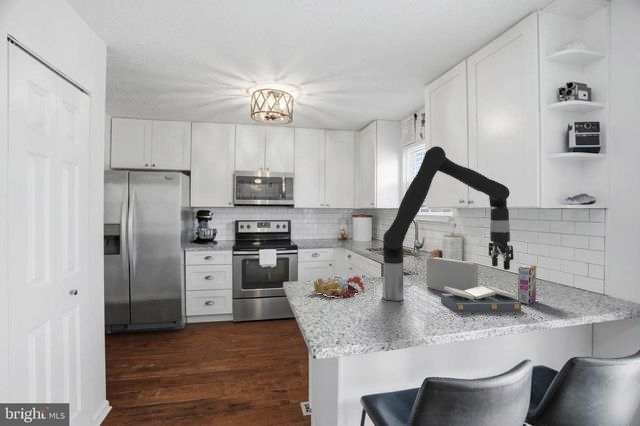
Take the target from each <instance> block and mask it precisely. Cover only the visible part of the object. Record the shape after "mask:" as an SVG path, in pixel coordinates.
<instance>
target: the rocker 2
mask: <svg viewBox="0 0 640 426" xmlns="http://www.w3.org/2000/svg"><path fill="white" fill-rule="evenodd" d="M464 292H466V293H468V294H470V295H472V296H474V298H475V299H480V298H484V297H487V296H491V295H494V294H496V293H495V291H493V290H491V289H488V288H486V287H485V286H483V285H480V286H479V285H478V287H475V288H471V289H467V290H464Z"/></svg>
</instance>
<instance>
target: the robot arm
mask: <svg viewBox="0 0 640 426" xmlns="http://www.w3.org/2000/svg"><path fill="white" fill-rule="evenodd" d="M437 172H440V173H443V174H445V175H446V176H449V177H451V178H453V179H456V180H458V181H460V183H462V184H464V185H466V186H468V187H470V188H471V189H473V190H475V191H477V192H481V193H483V194H485V195H487V196H488V198H489V199H488V200H489V206H490V223H489V234H490V237H489V238H490V239H489V240H490V242H488V256H489V257H491V267H498V266H499V263H498V262H499V261H498V257H499V255H500V257H502V259H503V270H505V271H508V270H510V268H511V267H510V266H511V261H513V260H515V259H514V247H513V245H512V244H511V245H510V244H509V245H508V243H510V241H511V225H510V216H509V215H510V214H509V212H510V211H509V208H508V206H507V205H508V201H507V199H508V198H509V196H510V194H511V192H510V189H509V188H508V187H507V186H506V185H504V184H502V183H500V182H498V181H496V180H493V179H490V178H488V177H487V176H485V175H484V174H482V173H480V172H478V171H476V170H474V169H471V168H469V167H466V166H462V165H460V164H458V163H455V162H453V161H452V160H451V159H449V158H448V157H446V152H445V149H443V148H442V146H439V145H438V146H432V147H430V148H428V149H427V150H426V152H425V154H424V156H423V159H422V161H421V164H420V167H419V168H418V171H417V172H416V175H415V176H414V178H413V179H412V181H411V183H410V184H409V186H408V187H407V189H406V192H405V194H404V196H403V198H402V200H401V201H400V205H399V206H398V210H397V214H396V216H395V219H394V220H393V221H392V223H391V225H390V226H389V228H388V229H387V230H386V231H384V233H383V237H382V239H383V241H382V242H383V243H382V244H383V246H382V247H383V250H382V253H383V256H382V257H383V276H382V298H383V299H384V300H385V301H392V302H395V301H396V302H398V301H403V300H404V246H403V245H404V241H405V239H406V235H407V234H408V230H409V229H410V226H411V224H412V222H413V221H414V219H415V218H416V216H417V215H418V213H419V212H420V209H421V208H422V207H423V204H424V202H425V200H426V199H427V196H428V194H429V192H430V188H431V185H432V182H433V180H434V178H435V176H436V174H437Z"/></svg>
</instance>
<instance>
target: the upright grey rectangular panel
mask: <svg viewBox="0 0 640 426" xmlns="http://www.w3.org/2000/svg"><path fill="white" fill-rule="evenodd" d="M426 286H427V288H430V289H433V290H437V291H441V292H444V293H447V294H452V293H451V292H449V291H447V290H445V289H444V286H446V287H450V288H454V289H458V290H462V291H464V290H467V289H471V288H475V287H478V286H479V267H478V264H477V263H476V262H474V261H466V260H460V259H459V260H458V259H451V258H445V257H436V256H435V257H429V258H427V259H426Z"/></svg>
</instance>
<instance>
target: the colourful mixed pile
mask: <svg viewBox="0 0 640 426" xmlns="http://www.w3.org/2000/svg"><path fill="white" fill-rule="evenodd" d="M327 280H328V281H324V280H323V277H321V278H317V279H316V280H314V281H313V282H312V283H313V286H314V291H317V292H316V293H321V294H326V295H327V296H335V297H337V298H336V299H338V298H341V297H344V298H343V299H345V298H346V299H347V298H350V297H353V298H354V295H355V293H358V292H360V290H362V292H363V291H364V292H365V287H364V282H363V281H361V280H362V279H361V276H359V275H354V276H353V277H349V278H348V280H347V279H346V278H345V277H341V276H340V275H339V274H336V275H334V274H333V275H332V276H329V277H328V278H327ZM353 283H354V284H357V285H358V287H360V290H359V289H357V288H356V287H355V286H354V284H353ZM354 287H355V288H354ZM336 288H337V289H336ZM358 290H359V291H358ZM341 299H342V298H341Z"/></svg>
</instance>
